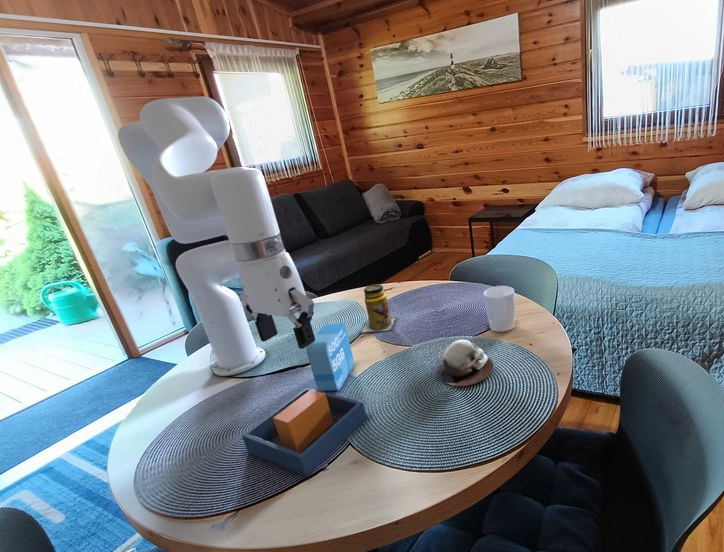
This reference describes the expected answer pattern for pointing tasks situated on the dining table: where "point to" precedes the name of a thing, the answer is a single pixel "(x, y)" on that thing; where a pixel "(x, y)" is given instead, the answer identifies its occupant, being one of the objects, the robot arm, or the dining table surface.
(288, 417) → the block
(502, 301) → the white cup
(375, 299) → the condiment
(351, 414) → the bin
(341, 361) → the data package
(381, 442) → the dining table surface
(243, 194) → the robot arm
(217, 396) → the dining table surface
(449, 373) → the skull
